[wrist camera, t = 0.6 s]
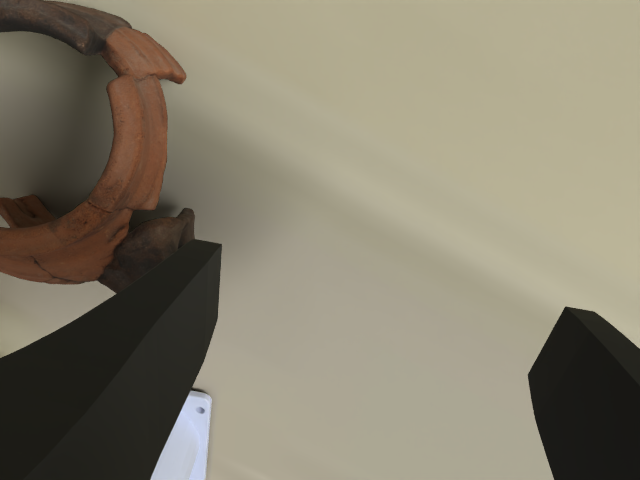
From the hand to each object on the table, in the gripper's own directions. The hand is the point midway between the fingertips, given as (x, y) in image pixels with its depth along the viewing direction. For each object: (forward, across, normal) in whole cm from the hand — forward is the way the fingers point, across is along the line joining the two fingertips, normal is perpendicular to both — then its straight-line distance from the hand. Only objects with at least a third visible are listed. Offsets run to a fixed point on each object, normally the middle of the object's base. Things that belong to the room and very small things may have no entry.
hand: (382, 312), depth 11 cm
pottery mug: (+10, +10, +2) cm, 14 cm away
